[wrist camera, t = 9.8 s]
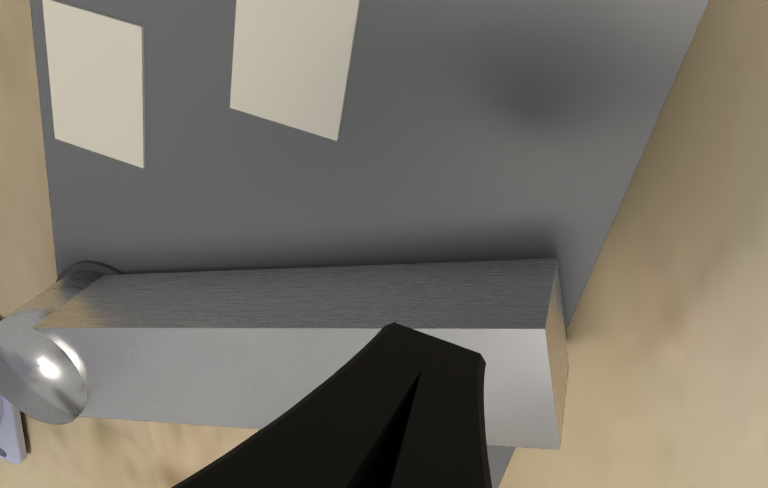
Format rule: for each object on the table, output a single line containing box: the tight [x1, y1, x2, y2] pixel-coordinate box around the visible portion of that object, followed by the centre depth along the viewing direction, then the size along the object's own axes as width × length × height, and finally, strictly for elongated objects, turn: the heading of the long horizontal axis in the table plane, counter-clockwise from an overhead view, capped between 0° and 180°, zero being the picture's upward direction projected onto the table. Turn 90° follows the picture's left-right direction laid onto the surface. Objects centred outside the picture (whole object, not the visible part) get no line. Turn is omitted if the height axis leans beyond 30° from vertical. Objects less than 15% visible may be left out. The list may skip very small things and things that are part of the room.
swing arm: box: [0, 258, 569, 450], centre depth 18 cm, size 17×4×3 cm, turn 103°
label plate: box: [30, 0, 709, 488], centre depth 18 cm, size 16×17×1 cm
